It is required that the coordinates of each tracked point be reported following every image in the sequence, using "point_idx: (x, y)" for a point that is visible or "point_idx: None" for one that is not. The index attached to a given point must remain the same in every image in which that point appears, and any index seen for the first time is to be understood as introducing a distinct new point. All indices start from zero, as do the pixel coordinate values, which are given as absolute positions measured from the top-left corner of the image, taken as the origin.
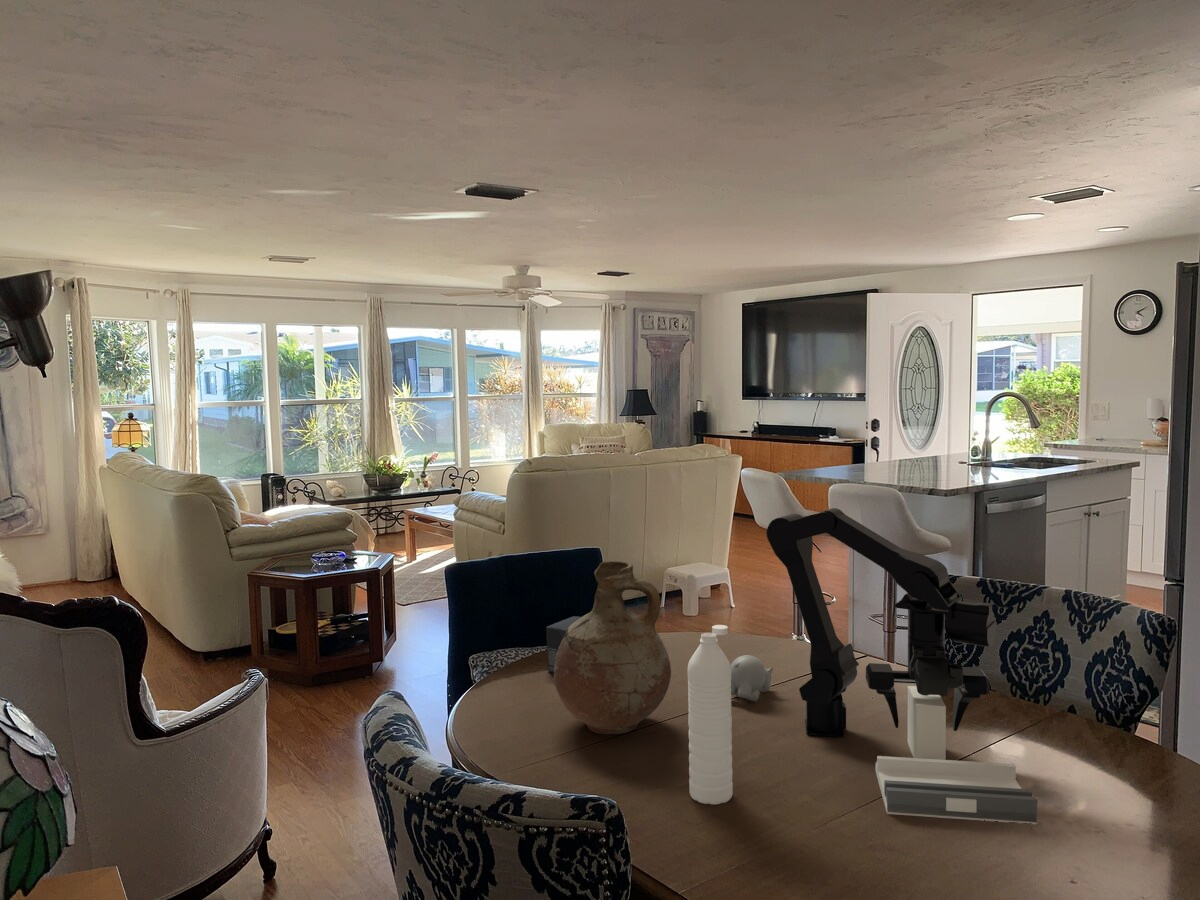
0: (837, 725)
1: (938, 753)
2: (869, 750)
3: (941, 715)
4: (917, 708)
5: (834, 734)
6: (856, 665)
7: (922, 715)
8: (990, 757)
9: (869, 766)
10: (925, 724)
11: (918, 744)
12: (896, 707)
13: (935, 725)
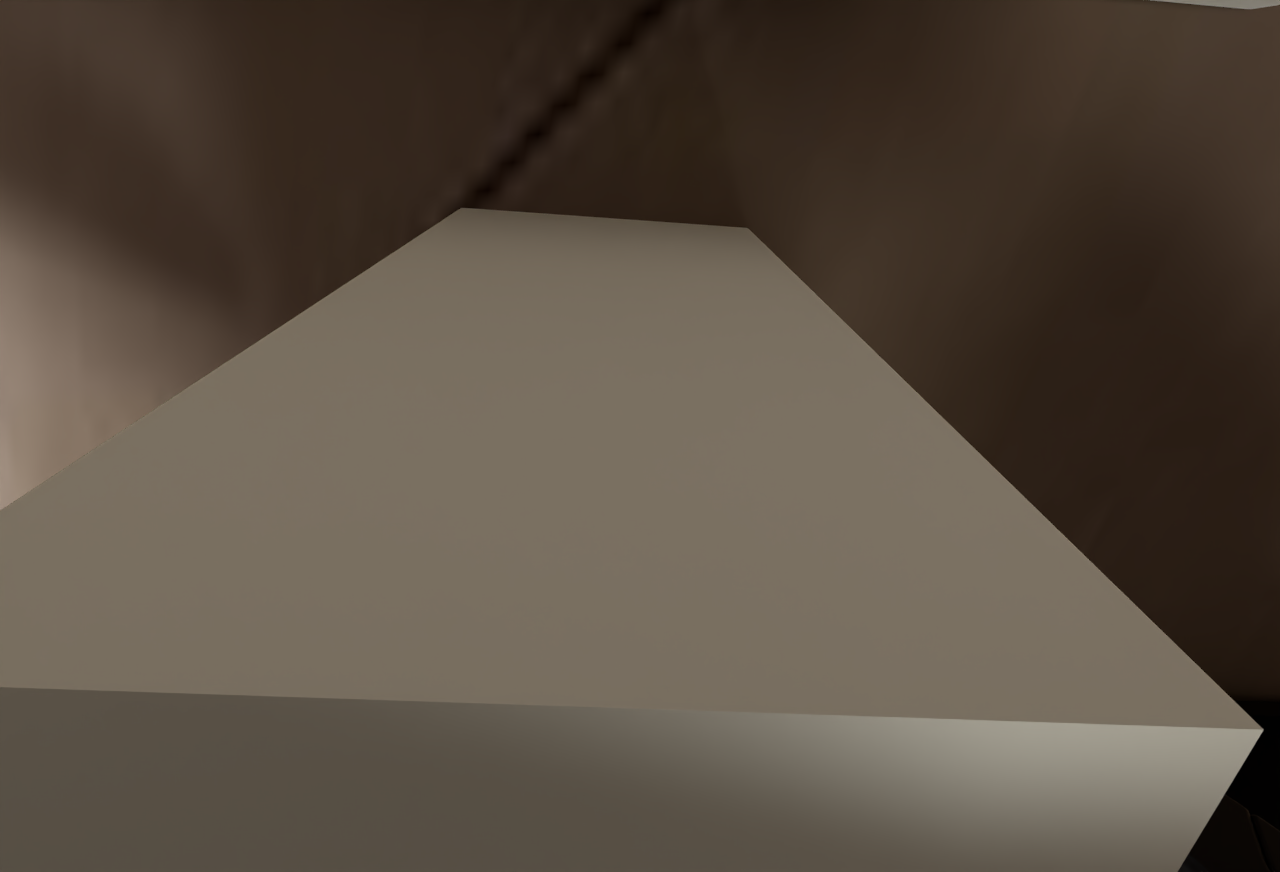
0: (1239, 801)
1: (514, 231)
2: (1065, 500)
3: (248, 443)
4: (1093, 609)
5: (1254, 711)
6: None
7: (828, 463)
8: (20, 446)
9: (1243, 145)
10: (709, 364)
11: (765, 276)
12: (1207, 865)
13: (494, 346)
